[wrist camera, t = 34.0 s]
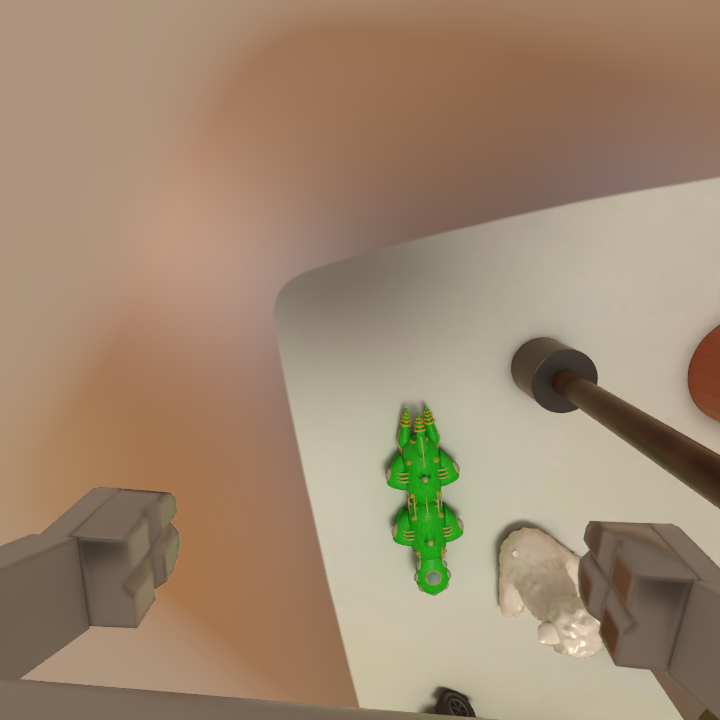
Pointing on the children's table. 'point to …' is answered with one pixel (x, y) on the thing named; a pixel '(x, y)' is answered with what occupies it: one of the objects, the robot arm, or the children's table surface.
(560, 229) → the children's table surface
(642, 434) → the rod on round base
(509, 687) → the children's table surface
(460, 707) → the motor vehicle
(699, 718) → the bottle
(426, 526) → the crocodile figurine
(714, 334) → the terracotta flower pot
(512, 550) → the sitting furry creature
